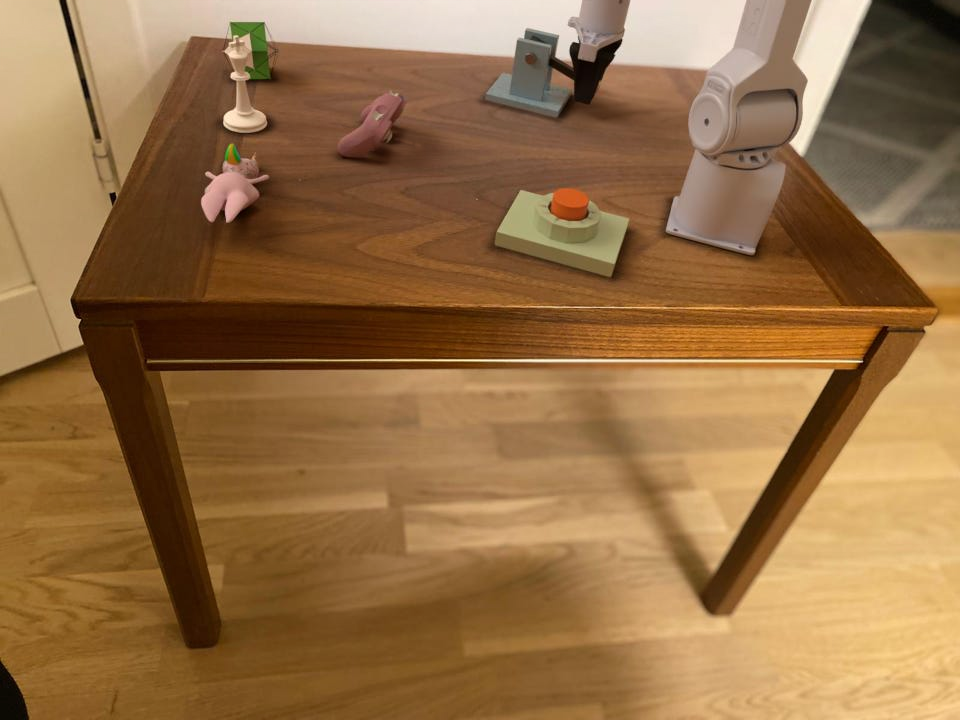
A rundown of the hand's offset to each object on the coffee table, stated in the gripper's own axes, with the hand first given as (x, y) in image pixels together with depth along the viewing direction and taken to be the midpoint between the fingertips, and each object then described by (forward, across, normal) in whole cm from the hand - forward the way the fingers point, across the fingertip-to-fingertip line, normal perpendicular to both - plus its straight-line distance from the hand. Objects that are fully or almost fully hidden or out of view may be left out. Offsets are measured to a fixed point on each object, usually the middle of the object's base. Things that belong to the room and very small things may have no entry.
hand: (585, 97), depth 98 cm
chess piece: (+2, +25, -36) cm, 43 cm away
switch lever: (-2, 0, -4) cm, 4 cm away
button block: (+2, +31, +4) cm, 31 cm away
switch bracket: (+2, 0, -8) cm, 8 cm away
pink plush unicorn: (+2, +41, -27) cm, 49 cm away
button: (-1, +31, +4) cm, 31 cm away
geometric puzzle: (+2, +13, -42) cm, 44 cm away
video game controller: (+2, +22, -20) cm, 30 cm away
